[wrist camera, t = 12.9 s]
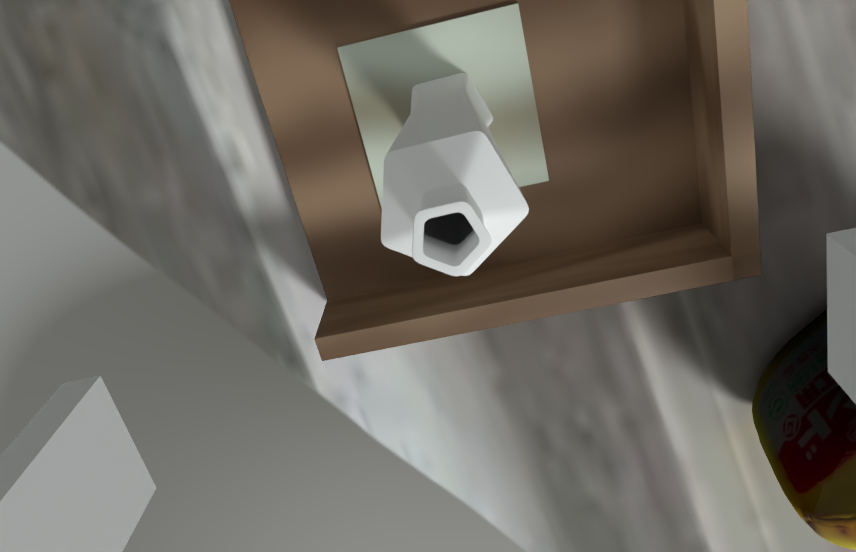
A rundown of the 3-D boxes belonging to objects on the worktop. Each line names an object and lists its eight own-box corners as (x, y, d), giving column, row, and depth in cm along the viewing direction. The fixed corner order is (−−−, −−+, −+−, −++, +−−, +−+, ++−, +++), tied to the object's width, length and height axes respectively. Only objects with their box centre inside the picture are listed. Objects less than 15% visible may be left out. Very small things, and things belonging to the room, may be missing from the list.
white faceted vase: (376, 100, 33) (325, 214, 19) (459, 46, 32) (469, 126, 18) (430, 184, 34) (419, 344, 21) (512, 135, 33) (557, 270, 20)
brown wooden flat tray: (236, -4, 32) (200, 6, 28) (693, -123, 30) (739, -134, 25) (337, 309, 39) (322, 361, 34) (720, 231, 37) (761, 275, 32)
